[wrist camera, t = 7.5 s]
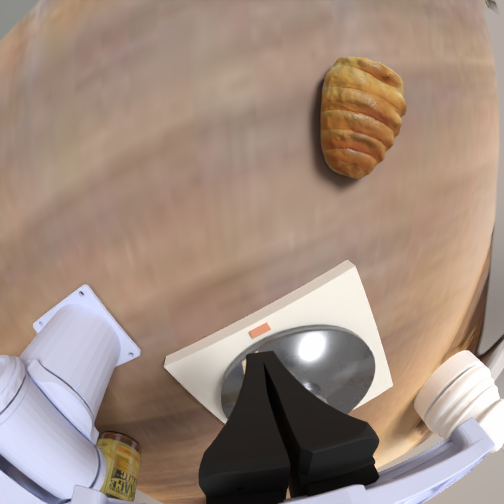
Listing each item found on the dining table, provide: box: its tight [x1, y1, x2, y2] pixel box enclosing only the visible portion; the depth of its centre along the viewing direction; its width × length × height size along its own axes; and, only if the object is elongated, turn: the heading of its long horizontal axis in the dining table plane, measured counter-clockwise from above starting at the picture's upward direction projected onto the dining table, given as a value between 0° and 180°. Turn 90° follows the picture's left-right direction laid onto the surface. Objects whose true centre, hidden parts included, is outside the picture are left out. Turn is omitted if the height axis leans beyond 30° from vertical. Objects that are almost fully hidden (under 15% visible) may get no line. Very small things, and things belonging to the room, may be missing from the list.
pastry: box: [320, 57, 406, 179], centre depth 17 cm, size 9×7×4 cm
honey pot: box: [414, 351, 504, 454], centre depth 23 cm, size 13×13×18 cm
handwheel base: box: [164, 260, 393, 424], centre depth 25 cm, size 18×18×2 cm
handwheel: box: [221, 324, 375, 419], centre depth 22 cm, size 15×15×4 cm
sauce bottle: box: [96, 432, 141, 502], centre depth 17 cm, size 7×6×20 cm
